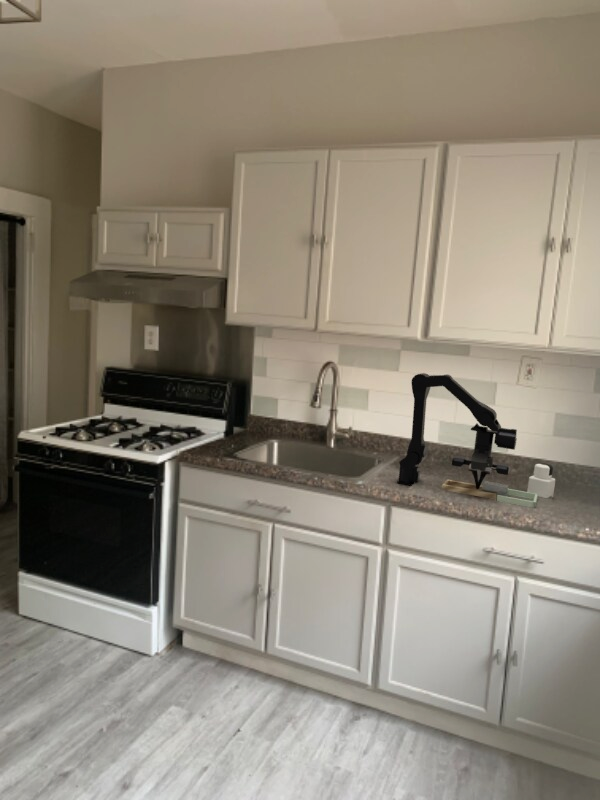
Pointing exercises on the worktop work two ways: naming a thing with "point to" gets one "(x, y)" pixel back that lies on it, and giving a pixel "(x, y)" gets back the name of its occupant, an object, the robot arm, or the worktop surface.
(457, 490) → the wooden tray
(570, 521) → the worktop surface
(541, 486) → the medicine bottle
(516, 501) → the green tray
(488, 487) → the grey cube
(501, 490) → the grey square block
